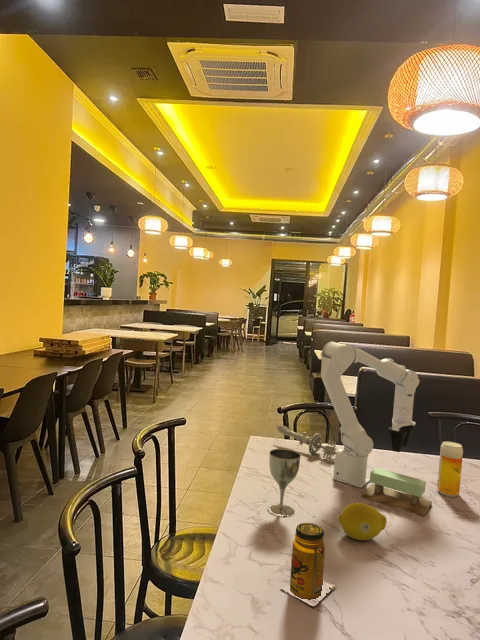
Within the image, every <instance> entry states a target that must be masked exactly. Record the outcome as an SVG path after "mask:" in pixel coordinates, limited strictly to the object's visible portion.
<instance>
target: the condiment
mask: <svg viewBox="0 0 480 640" xmlns="http://www.w3.org/2000/svg"><path fill="white" fill-rule="evenodd" d="M324 537H325V531H324V529H323V528H322V526H319V525H318V524H315V523H313V522H301V523H299V524H298V525H297V526H296V528H295V534H294V538H293V542H292V549H291V552H292V554H291V566H290V577H289V579H290V580H289V582H290V591H291V592H292V593H293V594H294V595H295V596H297V597H299V598H301V599H308V600H311V599H316V598H318V597H319V596H321V591H322V585H323V580H324V569H325V557H326V556H325V555H326V545H325V539H324ZM336 587H337V585H335V586H333V587H332V588H333V590H334V589H335V588H336ZM332 588H330V587H329V589H330V590H332ZM333 590H332V591H333ZM284 592H285V593H286V594H288V593H287V592H286V591H284ZM326 595H327V596H328V595H329V594H328V593H326Z"/></svg>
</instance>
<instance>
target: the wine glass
mask: <svg viewBox="0 0 480 640" xmlns="http://www.w3.org/2000/svg"><path fill="white" fill-rule="evenodd" d="M268 455H269V458H268V459H269V462H268V463H269V471H270V475H271V476H272V478H273V480H274V481H275V482H276V484H277V485H278V487H279V494H280V497H279V499H280V500H279V503H276V504H277V505H272V504H271V505H272V506H271V507H270V509H271V511H272V512H273V513H275V514H281V515H284V516H285V515H286V516H287V515H289V517H291V516H290V515H292V514H293V515H295V513H296V512H295V511H296V510H294V508H293V507H292V506H289V505H288V504H284V496H285V493H286V488H287V487H288V486H289V484H291V483H292V482H293V481H294V480H295V479H296V477H297V475H298V474H299V473H298V472H299V470H300V463H301V454H300V452H298V451H296V450H294V449H288V448H274V449H271V450H269V454H268ZM283 504H284V505H283ZM287 505H288V506H287ZM291 507H292V508H291ZM294 512H295V513H294ZM293 515H292V516H293Z"/></svg>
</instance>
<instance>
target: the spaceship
mask: <svg viewBox="0 0 480 640" xmlns="http://www.w3.org/2000/svg"><path fill="white" fill-rule="evenodd" d="M276 431H277V432H279V433H280V434H282V435H285V437H286V436H287V437H293V438H294V439H295V440H296V441H298V442H299V443H298V444H299V445H300V446H302V445H303V444H305V445H308V453H310V455H315V454H316V453H317V452H318V451H320V449H321V452H323V456H322V458H323V459H325V460H328V462H329V461H331V459H332V457H335V456H336V453H337V451H338V448H337V447H336V445H337V441H334V440H331V439H328V442H327V443H323V439H322V438H323V437H322V435H321V434H320V432H316V433H315V434H314V435H313V436H312V437H311V436H308V435H307V434H308V433H307V432H305V431H303V432H302V433H301V432H295V431H293V429H292V428H290V427H287V426H285V425H277V426H276ZM322 449H323V450H322Z"/></svg>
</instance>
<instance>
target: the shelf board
mask: <svg viewBox="0 0 480 640" xmlns="http://www.w3.org/2000/svg"><path fill="white" fill-rule="evenodd" d="M369 479H370V481H369V483H370V484H374V485H375V484H377V485H381V486H384V487H385V488H388V489H391V490H395V491H398V492H401V493H405V494H408V495H414V496H418V497H420V498H421V497H422V496H423V494H424V493H425V492H426V482H427V481H426V480H423V479H420V478H416V477H413V476H409V475H405V474H402V473H399V472H394V471H391V470H387V469H383V468H380V467H375V468H373V470H371V471H370V473H369Z"/></svg>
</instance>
